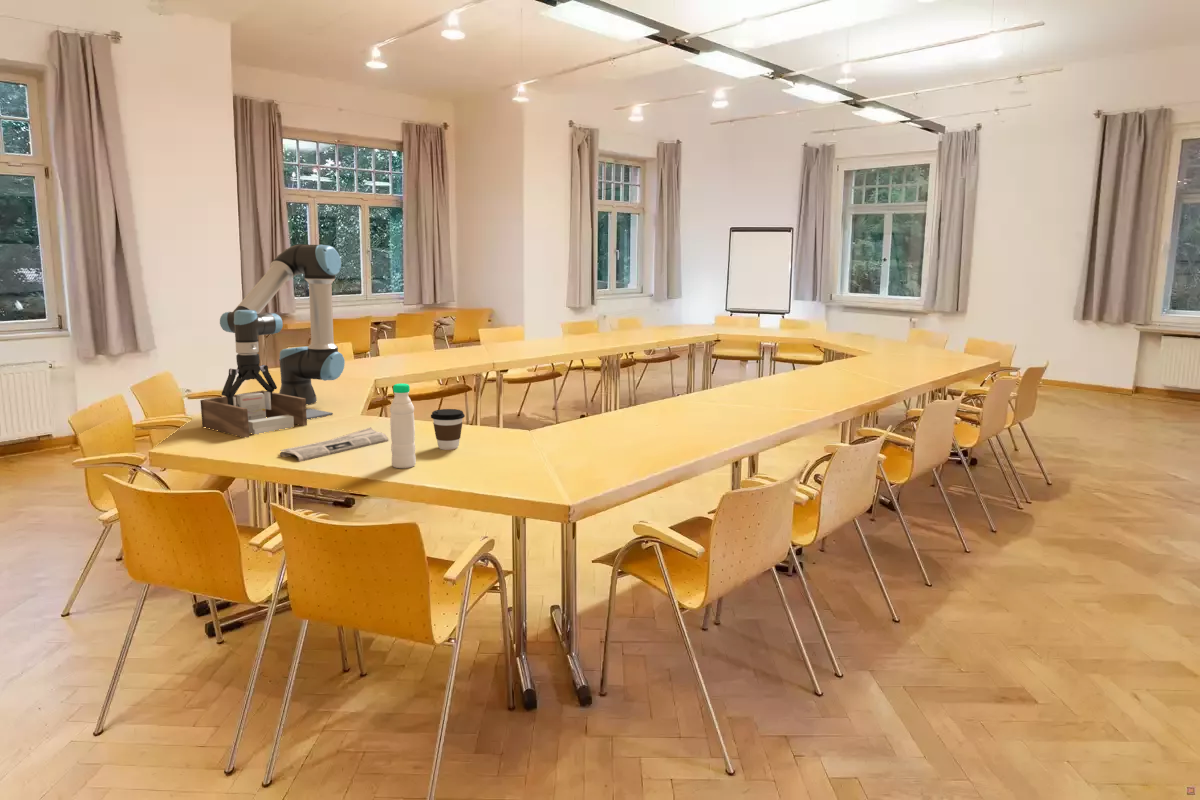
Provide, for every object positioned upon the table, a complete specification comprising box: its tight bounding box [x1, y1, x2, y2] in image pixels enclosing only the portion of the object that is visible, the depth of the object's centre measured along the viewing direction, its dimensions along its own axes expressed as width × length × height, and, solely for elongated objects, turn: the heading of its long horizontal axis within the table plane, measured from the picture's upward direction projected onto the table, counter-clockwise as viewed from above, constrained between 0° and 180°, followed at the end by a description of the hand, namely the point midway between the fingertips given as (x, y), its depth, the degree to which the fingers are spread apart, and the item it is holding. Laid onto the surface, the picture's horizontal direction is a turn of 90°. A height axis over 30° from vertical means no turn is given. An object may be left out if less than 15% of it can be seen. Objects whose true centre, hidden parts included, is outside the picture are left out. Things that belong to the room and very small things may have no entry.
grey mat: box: [306, 407, 334, 420], centre depth 306 cm, size 13×14×1 cm
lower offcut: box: [249, 423, 295, 435], centre depth 281 cm, size 15×4×2 cm, turn 144°
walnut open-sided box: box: [199, 390, 308, 438], centre depth 286 cm, size 25×26×10 cm
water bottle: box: [389, 382, 417, 469], centre depth 237 cm, size 7×7×25 cm
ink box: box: [236, 392, 266, 421], centre depth 287 cm, size 9×5×12 cm, turn 129°
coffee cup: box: [430, 408, 465, 451], centre depth 261 cm, size 11×11×12 cm
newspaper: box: [279, 427, 389, 462], centre depth 259 cm, size 35×12×4 cm, turn 144°
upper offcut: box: [248, 415, 294, 429], centre depth 281 cm, size 15×4×2 cm, turn 139°
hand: (251, 412), depth 287 cm, fingers open, 13 cm apart
